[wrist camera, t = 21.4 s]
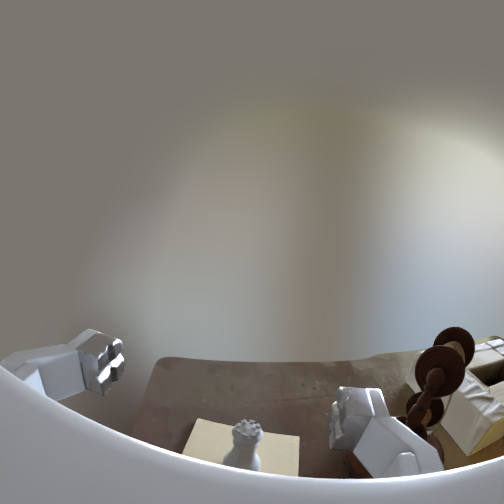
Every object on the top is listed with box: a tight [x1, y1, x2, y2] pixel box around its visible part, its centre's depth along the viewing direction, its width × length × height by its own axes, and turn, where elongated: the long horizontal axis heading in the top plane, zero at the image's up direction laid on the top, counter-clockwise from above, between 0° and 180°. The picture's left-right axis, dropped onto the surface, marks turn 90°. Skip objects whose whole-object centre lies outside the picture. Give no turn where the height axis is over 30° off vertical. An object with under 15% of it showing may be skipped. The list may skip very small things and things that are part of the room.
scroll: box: [344, 327, 475, 479], centre depth 26 cm, size 15×15×20 cm
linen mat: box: [182, 419, 299, 477], centre depth 28 cm, size 14×14×1 cm
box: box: [406, 339, 504, 456], centre depth 38 cm, size 23×8×32 cm
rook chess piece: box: [222, 419, 264, 472], centre depth 27 cm, size 4×4×8 cm
